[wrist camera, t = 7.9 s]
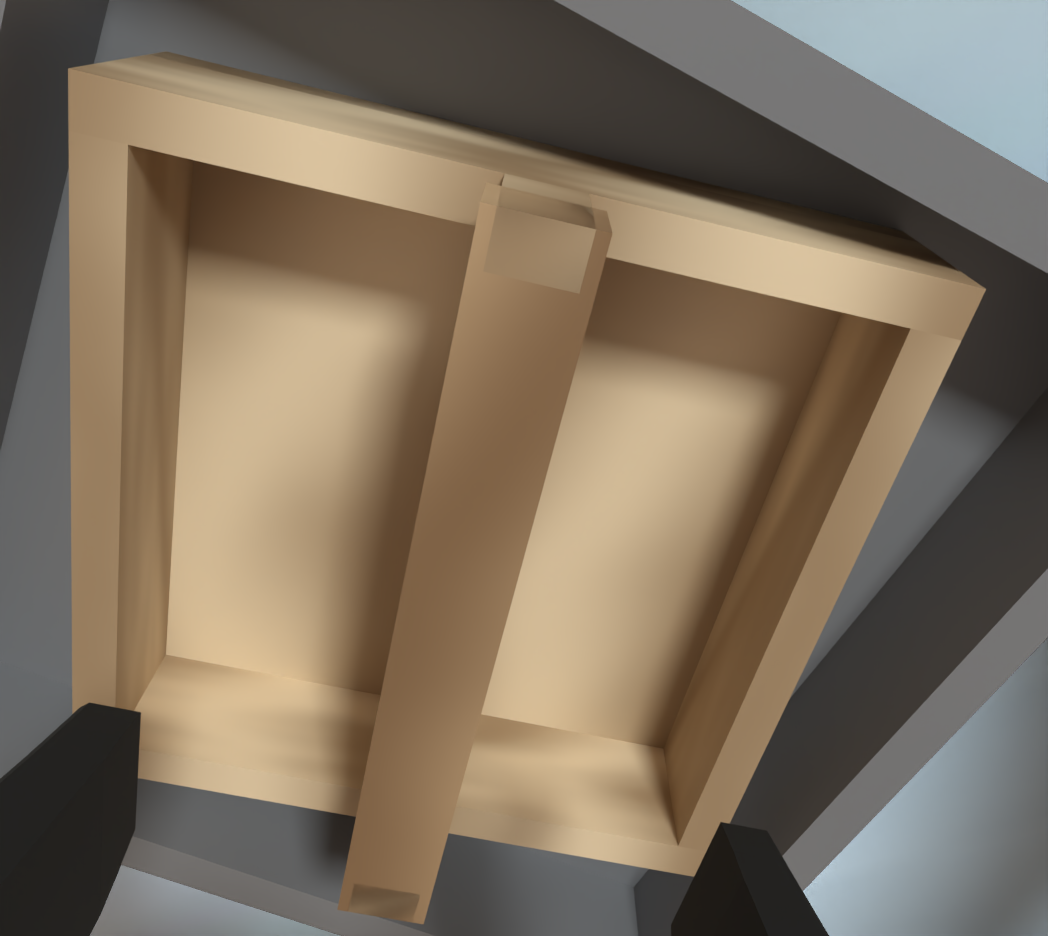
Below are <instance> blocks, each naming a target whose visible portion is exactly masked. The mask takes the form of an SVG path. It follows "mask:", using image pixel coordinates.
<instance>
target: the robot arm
mask: <svg viewBox="0 0 1048 936" xmlns="http://www.w3.org/2000/svg"><path fill="white" fill-rule="evenodd" d="M140 723H141V712H137V711H132V710H127V709H121V708H116V707H111V706H105V705H100V704H95V703H90V702H89V703H87V704H85V705H84V706H82V707H80V708H79V709H78V710H76V711H75V712H74V713H73V714H72V715H71V716H70V717H69V718H68V719H67V720H66V721H65V722H63V723H62V724H61V725H60V726H59V727H58V728H57V729H56V730H55V731H54V732H52V733H51V734H50V735H49V736H48V737H47V738H46V739H45V740H44V741H43V742H41V743H40V744H39V745H38V746H37V747H36V748H35V749H34V750H32V751H31V752H30V753H29V754H28V755H27V756H26V757H25V758H23V759H22V760H21V761H20V762H19V763H18V764H17V765H15V766H14V767H13V768H12V769H11V770H10V771H8V772H7V773H6V774H5V775H4V776H3V777H2V778H0V936H89V935H90V933H91V932H92V930H93V928H94V926H95V924H96V922H97V920H98V918H99V916H100V914H101V912H102V909H103V907H104V905H105V902H106V900H107V898H108V895H109V893H110V890H111V888H112V886H113V883H114V881H115V879H116V876H117V874H118V871H119V869H120V866H121V864H122V861H123V859H124V856H125V854H126V851H127V849H128V846H129V844H130V841H131V839H132V836H133V834H134V831H135V825H136V804H137V784H138V763H139V743H140ZM671 936H829V935H828V933H827V932H826V930H825V928H824V927H823V925H822V923H821V922H820V920H819V918H818V917H817V915H816V913H815V911H814V910H813V908H812V906H811V905H810V903H809V901H808V899H807V898H806V896H805V894H804V893H803V891H802V889H801V887H800V886H799V884H798V882H797V881H796V879H795V877H794V875H793V874H792V872H791V870H790V869H789V867H788V865H787V863H786V862H785V860H784V858H783V857H782V855H781V853H780V852H779V850H778V848H777V847H776V845H775V843H774V842H773V840H772V838H771V837H770V835H769V833H768V831H766V830H761V829H756V828H750V827H745V826H740V825H735V824H729V823H724V822H720V824H719V826H718V828H717V830H716V833H715V835H714V837H713V839H712V841H711V843H710V845H709V847H708V849H707V851H706V853H705V855H704V857H703V859H702V862H701V864H700V866H699V868H698V870H697V872H696V874H695V876H694V878H693V880H692V882H691V884H690V886H689V888H688V890H687V893H686V895H685V897H684V899H683V901H682V903H681V905H680V907H679V909H678V911H677V913H676V915H675V917H674V919H673V921H672V924H671Z"/></svg>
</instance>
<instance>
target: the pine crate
mask: <svg viewBox="0 0 1048 936" xmlns="http://www.w3.org/2000/svg"><path fill="white" fill-rule="evenodd" d="M68 123H69V272H70V421H71V571H72V714H73V713H74V712H75V711H76V710H78V709H79V708H80V707H82V706H84V705H85V704H87V703H89V702H90V703H95V704H100V705H105V706H111V707H116V708H121V709H127V710H132V711H137V712H141V723H140V743H139V763H138V778H140V779H146V780H152V781H157V782H163V783H169V784H174V785H180V786H186V787H191V788H197V789H202V790H208V791H214V792H219V793H225V794H231V795H236V796H242V797H248V798H253V799H259V800H264V801H270V802H276V803H281V804H287V805H293V806H298V807H304V808H309V809H315V810H321V811H326V812H332V813H338V814H343V815H349V816H355V817H356V820H355V825H354V829H353V834H352V839H351V844H350V849H349V854H348V859H347V864H346V869H345V874H344V879H343V884H342V889H341V894H340V899H339V904H338V909H337V910H341V911H347V912H353V913H359V914H365V915H371V916H376V917H382V918H388V919H394V920H400V921H406V922H412V923H418V924H424V921H425V917H426V914H427V910H428V906H429V903H430V899H431V895H432V892H433V888H434V884H435V881H436V877H437V873H438V870H439V866H440V862H441V859H442V855H443V851H444V848H445V844H446V840H447V837H448V833H450V834H456V835H462V836H467V837H473V838H479V839H484V840H490V841H495V842H501V843H507V844H512V845H518V846H524V847H529V848H535V849H540V850H546V851H552V852H557V853H563V854H569V855H574V856H580V857H586V858H591V859H597V860H602V861H608V862H614V863H619V864H625V865H631V866H636V867H642V868H648V869H653V870H659V871H664V872H670V873H676V874H681V875H687V876H693V877H694V876H695V874H696V872H697V870H698V868H699V866H700V864H701V862H702V859H703V857H704V855H705V853H706V851H707V849H708V847H709V845H710V843H711V841H712V839H713V837H714V835H715V833H716V830H717V828H718V826H719V824H720V822H724V823H729V824H730V822H731V820H732V818H733V816H734V813H735V811H736V809H737V807H738V805H739V803H740V801H741V799H742V797H743V795H744V793H745V791H746V788H747V786H748V784H749V782H750V780H751V778H752V776H753V774H754V772H755V770H756V768H757V766H758V763H759V761H760V759H761V757H762V755H763V753H764V751H765V749H766V747H767V745H768V743H769V741H770V738H771V736H772V734H773V732H774V730H775V728H776V726H777V724H778V722H779V720H780V718H781V716H782V714H783V711H784V709H785V707H786V705H787V703H788V701H789V699H790V697H791V695H792V693H793V691H794V689H795V686H796V684H797V682H798V680H799V678H800V676H801V674H802V672H803V670H804V668H805V666H806V664H807V661H808V659H809V657H810V655H811V653H812V651H813V649H814V647H815V645H816V643H817V641H818V639H819V636H820V634H821V632H822V630H823V628H824V626H825V624H826V622H827V620H828V618H829V616H830V614H831V611H832V609H833V607H834V605H835V603H836V601H837V599H838V597H839V595H840V593H841V591H842V589H843V586H844V584H845V582H846V580H847V578H848V576H849V574H850V572H851V570H852V568H853V566H854V564H855V562H856V559H857V557H858V555H859V553H860V551H861V549H862V547H863V545H864V543H865V541H866V539H867V537H868V534H869V532H870V530H871V528H872V526H873V524H874V522H875V520H876V518H877V516H878V514H879V512H880V509H881V507H882V505H883V503H884V501H885V499H886V497H887V495H888V493H889V491H890V489H891V487H892V484H893V482H894V480H895V478H896V476H897V474H898V472H899V470H900V468H901V466H902V464H903V462H904V459H905V457H906V455H907V453H908V451H909V449H910V447H911V445H912V443H913V441H914V439H915V437H916V434H917V432H918V430H919V428H920V426H921V424H922V422H923V420H924V418H925V416H926V414H927V412H928V409H929V407H930V405H931V403H932V401H933V399H934V397H935V395H936V393H937V391H938V389H939V387H940V385H941V382H942V380H943V378H944V376H945V374H946V372H947V370H948V368H949V366H950V364H951V362H952V360H953V357H954V355H955V353H956V351H957V349H958V347H959V345H960V343H961V341H962V339H963V337H964V335H965V332H966V330H967V328H968V326H969V324H970V322H971V320H972V318H973V316H974V314H975V312H976V310H977V307H978V305H979V303H980V301H981V299H982V297H983V295H984V293H985V291H986V289H985V288H984V287H982V286H981V285H980V284H978V283H977V282H975V281H974V280H972V279H971V278H969V277H968V276H967V275H965V274H964V273H962V272H961V271H959V270H958V269H956V268H955V267H954V266H952V265H951V264H949V263H948V262H946V261H945V260H943V259H942V258H941V257H939V256H938V255H936V254H935V253H933V252H932V251H931V250H929V249H928V248H926V247H925V246H923V245H922V244H920V243H919V242H918V241H916V240H915V239H913V238H912V237H910V236H909V235H907V234H906V233H905V232H903V231H900V230H896V229H891V228H887V227H883V226H879V225H875V224H871V223H867V222H863V221H859V220H855V219H850V218H846V217H842V216H838V215H834V214H830V213H826V212H822V211H818V210H814V209H810V208H805V207H801V206H797V205H793V204H789V203H785V202H781V201H777V200H773V199H769V198H764V197H760V196H756V195H752V194H748V193H744V192H740V191H736V190H732V189H728V188H724V187H719V186H715V185H711V184H707V183H703V182H699V181H695V180H691V179H687V178H683V177H679V176H674V175H670V174H666V173H662V172H658V171H654V170H650V169H646V168H642V167H638V166H633V165H629V164H625V163H621V162H617V161H613V160H609V159H605V158H601V157H597V156H593V155H588V154H584V153H580V152H576V151H572V150H568V149H564V148H560V147H556V146H552V145H548V144H543V143H539V142H535V141H531V140H527V139H523V138H519V137H515V136H511V135H507V134H502V133H498V132H494V131H490V130H486V129H482V128H478V127H474V126H470V125H466V124H462V123H457V122H453V121H449V120H445V119H441V118H437V117H433V116H429V115H425V114H421V113H416V112H412V111H408V110H404V109H400V108H396V107H392V106H388V105H384V104H380V103H376V102H371V101H367V100H363V99H359V98H355V97H351V96H347V95H343V94H339V93H335V92H331V91H326V90H322V89H318V88H314V87H310V86H306V85H302V84H298V83H294V82H290V81H285V80H281V79H277V78H273V77H269V76H265V75H261V74H257V73H253V72H249V71H245V70H240V69H236V68H232V67H228V66H224V65H220V64H216V63H212V62H208V61H204V60H199V59H195V58H191V57H187V56H183V55H179V54H175V53H171V52H167V51H166V52H160V53H154V54H148V55H142V56H137V57H131V58H125V59H119V60H114V61H108V62H102V63H96V64H90V65H85V66H79V67H73V68H68Z"/></svg>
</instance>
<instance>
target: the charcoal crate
mask: <svg viewBox="0 0 1048 936" xmlns="http://www.w3.org/2000/svg"><path fill="white" fill-rule="evenodd" d="M166 51H167V52H171V53H175V54H179V55H183V56H187V57H191V58H195V59H199V60H204V61H208V62H212V63H216V64H220V65H224V66H228V67H232V68H236V69H240V70H245V71H249V72H253V73H257V74H261V75H265V76H269V77H273V78H277V79H281V80H285V81H290V82H294V83H298V84H302V85H306V86H310V87H314V88H318V89H322V90H326V91H331V92H335V93H339V94H343V95H347V96H351V97H355V98H359V99H363V100H367V101H371V102H376V103H380V104H384V105H388V106H392V107H396V108H400V109H404V110H408V111H412V112H416V113H421V114H425V115H429V116H433V117H437V118H441V119H445V120H449V121H453V122H457V123H462V124H466V125H470V126H474V127H478V128H482V129H486V130H490V131H494V132H498V133H502V134H507V135H511V136H515V137H519V138H523V139H527V140H531V141H535V142H539V143H543V144H548V145H552V146H556V147H560V148H564V149H568V150H572V151H576V152H580V153H584V154H588V155H593V156H597V157H601V158H605V159H609V160H613V161H617V162H621V163H625V164H629V165H633V166H638V167H642V168H646V169H650V170H654V171H658V172H662V173H666V174H670V175H674V176H679V177H683V178H687V179H691V180H695V181H699V182H703V183H707V184H711V185H715V186H719V187H724V188H728V189H732V190H736V191H740V192H744V193H748V194H752V195H756V196H760V197H764V198H769V199H773V200H777V201H781V202H785V203H789V204H793V205H797V206H801V207H805V208H810V209H814V210H818V211H822V212H826V213H830V214H834V215H838V216H842V217H846V218H850V219H855V220H859V221H863V222H867V223H871V224H875V225H879V226H883V227H887V228H891V229H896V230H900V231H903V232H905V233H906V234H907V235H909V236H910V237H912V238H913V239H915V240H916V241H918V242H919V243H920V244H922V245H923V246H925V247H926V248H928V249H929V250H931V251H932V252H933V253H935V254H936V255H938V256H939V257H941V258H942V259H943V260H945V261H946V262H948V263H949V264H951V265H952V266H954V267H955V268H956V269H958V270H959V271H961V272H962V273H964V274H965V275H967V276H968V277H969V278H971V279H972V280H974V281H975V282H977V283H978V284H980V285H981V286H982V287H984V288H985V289H986V291H985V293H984V295H983V297H982V299H981V301H980V303H979V305H978V307H977V310H976V312H975V314H974V316H973V318H972V320H971V322H970V324H969V326H968V328H967V330H966V332H965V335H964V337H963V339H962V341H961V343H960V345H959V347H958V349H957V351H956V353H955V355H954V357H953V360H952V362H951V364H950V366H949V368H948V370H947V372H946V374H945V376H944V378H943V380H942V382H941V385H940V387H939V389H938V391H937V393H936V395H935V397H934V399H933V401H932V403H931V405H930V407H929V409H928V412H927V414H926V416H925V418H924V420H923V422H922V424H921V426H920V428H919V430H918V432H917V434H916V437H915V439H914V441H913V443H912V445H911V447H910V449H909V451H908V453H907V455H906V457H905V459H904V462H903V464H902V466H901V468H900V470H899V472H898V474H897V476H896V478H895V480H894V482H893V484H892V487H891V489H890V491H889V493H888V495H887V497H886V499H885V501H884V503H883V505H882V507H881V509H880V512H879V514H878V516H877V518H876V520H875V522H874V524H873V526H872V528H871V530H870V532H869V534H868V537H867V539H866V541H865V543H864V545H863V547H862V549H861V551H860V553H859V555H858V557H857V559H856V562H855V564H854V566H853V568H852V570H851V572H850V574H849V576H848V578H847V580H846V582H845V584H844V586H843V589H842V591H841V593H840V595H839V597H838V599H837V601H836V603H835V605H834V607H833V609H832V611H831V614H830V616H829V618H828V620H827V622H826V624H825V626H824V628H823V630H822V632H821V634H820V636H819V639H818V641H817V643H816V645H815V647H814V649H813V651H812V653H811V655H810V657H809V659H808V661H807V664H806V666H805V668H804V670H803V672H802V674H801V676H800V678H799V680H798V682H797V684H796V686H795V689H794V691H793V693H792V695H791V697H790V699H789V701H788V703H787V705H786V707H785V709H784V711H783V714H782V716H781V718H780V720H779V722H778V724H777V726H776V728H775V730H774V732H773V734H772V736H771V738H770V741H769V743H768V745H767V747H766V749H765V751H764V753H763V755H762V757H761V759H760V761H759V763H758V766H757V768H756V770H755V772H754V774H753V776H752V778H751V780H750V782H749V784H748V786H747V788H746V791H745V793H744V795H743V797H742V799H741V801H740V803H739V805H738V807H737V809H736V811H735V813H734V816H733V818H732V820H731V822H730V824H735V825H740V826H745V827H750V828H756V829H761V830H766V831H768V833H769V835H770V837H771V838H772V840H773V842H774V843H775V845H776V847H777V848H778V850H779V852H780V853H781V855H782V857H783V858H784V860H785V862H786V863H787V865H788V867H789V869H790V870H791V872H792V874H793V875H794V877H795V879H796V881H797V882H798V884H799V886H800V887H801V889H802V891H803V890H804V889H805V888H806V887H807V886H808V885H809V884H810V883H811V882H812V881H813V880H814V879H815V878H816V877H817V876H818V875H819V874H820V873H821V872H822V871H823V870H824V869H825V868H826V867H827V866H828V865H829V863H830V862H831V861H832V860H833V859H834V858H835V857H836V856H837V855H838V854H839V853H840V852H841V851H842V850H843V849H844V848H845V847H846V846H847V845H848V844H849V843H850V842H851V841H852V840H853V839H854V838H855V837H856V836H857V834H858V833H859V832H860V831H861V830H862V829H863V828H864V827H865V826H866V825H867V824H868V823H869V822H870V821H871V820H872V819H873V818H874V817H875V816H876V815H877V814H878V813H879V812H880V811H881V810H882V809H883V808H884V806H885V805H886V804H887V803H888V802H889V801H890V800H891V799H892V798H893V797H894V796H895V795H896V794H897V793H898V792H899V791H900V790H901V789H902V788H903V787H904V786H905V785H906V784H907V783H908V782H909V781H910V780H911V779H912V777H913V776H914V775H915V774H916V773H917V772H918V771H919V770H920V769H921V768H922V767H923V766H924V765H925V764H926V763H927V762H928V761H929V760H930V759H931V758H932V757H933V756H934V755H935V754H936V753H937V752H938V751H939V749H940V748H941V747H942V746H943V745H944V744H945V743H946V742H947V741H948V740H949V739H950V738H951V737H952V736H953V735H954V734H955V733H956V732H957V731H958V730H959V729H960V728H961V727H962V726H963V725H964V724H965V723H966V722H967V720H968V719H969V718H970V717H971V716H972V715H973V714H974V713H975V712H976V711H977V710H978V709H979V708H980V707H981V706H982V705H983V704H984V703H985V702H986V701H987V700H988V699H989V698H990V697H991V696H992V695H993V694H994V692H995V691H996V690H997V689H998V688H999V687H1000V686H1001V685H1002V684H1003V683H1004V682H1005V681H1006V680H1007V679H1008V678H1009V677H1010V676H1011V675H1012V674H1013V673H1014V672H1015V671H1016V670H1017V669H1018V668H1019V667H1020V666H1021V665H1022V663H1023V662H1024V661H1025V660H1026V659H1027V658H1028V657H1029V656H1030V655H1031V654H1032V653H1033V652H1034V651H1035V650H1036V649H1037V648H1038V647H1039V646H1040V645H1041V644H1042V643H1043V642H1044V641H1045V640H1046V639H1047V638H1048V183H1047V182H1045V181H1044V180H1042V179H1040V178H1038V177H1037V176H1035V175H1033V174H1031V173H1030V172H1028V171H1026V170H1024V169H1023V168H1021V167H1019V166H1017V165H1016V164H1014V163H1012V162H1011V161H1009V160H1007V159H1005V158H1004V157H1002V156H1000V155H998V154H997V153H995V152H993V151H991V150H990V149H988V148H986V147H985V146H983V145H981V144H979V143H978V142H976V141H974V140H972V139H971V138H969V137H967V136H965V135H964V134H962V133H960V132H958V131H957V130H955V129H953V128H952V127H950V126H948V125H946V124H945V123H943V122H941V121H939V120H938V119H936V118H934V117H932V116H931V115H929V114H927V113H926V112H924V111H922V110H920V109H919V108H917V107H915V106H913V105H912V104H910V103H908V102H906V101H905V100H903V99H901V98H899V97H898V96H896V95H894V94H893V93H891V92H889V91H887V90H886V89H884V88H882V87H880V86H879V85H877V84H875V83H873V82H872V81H870V80H868V79H867V78H865V77H863V76H861V75H860V74H858V73H856V72H854V71H853V70H851V69H849V68H847V67H846V66H844V65H842V64H840V63H839V62H837V61H835V60H834V59H832V58H830V57H828V56H827V55H825V54H823V53H821V52H820V51H818V50H816V49H814V48H813V47H811V46H809V45H808V44H806V43H804V42H802V41H801V40H799V39H797V38H795V37H794V36H792V35H790V34H788V33H787V32H785V31H783V30H781V29H780V28H778V27H776V26H775V25H773V24H771V23H769V22H768V21H766V20H764V19H762V18H761V17H759V16H757V15H755V14H754V13H752V12H750V11H749V10H747V9H745V8H743V7H742V6H740V5H738V4H736V3H735V2H733V1H731V0H0V778H2V777H3V776H4V775H5V774H6V773H7V772H8V771H10V770H11V769H12V768H13V767H14V766H15V765H17V764H18V763H19V762H20V761H21V760H22V759H23V758H25V757H26V756H27V755H28V754H29V753H30V752H31V751H32V750H34V749H35V748H36V747H37V746H38V745H39V744H40V743H41V742H43V741H44V740H45V739H46V738H47V737H48V736H49V735H50V734H51V733H52V732H54V731H55V730H56V729H57V728H58V727H59V726H60V725H61V724H62V723H63V722H65V721H66V720H67V719H68V718H69V717H70V716H71V715H72V571H71V421H70V272H69V123H68V68H73V67H79V66H85V65H90V64H96V63H102V62H108V61H114V60H119V59H125V58H131V57H137V56H142V55H148V54H154V53H160V52H166ZM355 820H356V817H355V816H349V815H343V814H338V813H332V812H326V811H321V810H315V809H309V808H304V807H298V806H293V805H287V804H281V803H276V802H270V801H264V800H259V799H253V798H248V797H242V796H236V795H231V794H225V793H219V792H214V791H208V790H202V789H197V788H191V787H186V786H180V785H174V784H169V783H163V782H157V781H152V780H146V779H140V778H138V784H137V804H136V825H135V831H134V834H133V836H132V839H131V841H130V844H129V846H128V849H127V851H126V854H125V856H124V859H123V861H122V864H121V865H124V866H127V867H130V868H133V869H136V870H139V871H142V872H146V873H149V874H152V875H155V876H158V877H161V878H164V879H167V880H170V881H173V882H177V883H180V884H183V885H186V886H189V887H192V888H195V889H198V890H201V891H204V892H207V893H211V894H214V895H217V896H220V897H223V898H226V899H229V900H232V901H235V902H238V903H242V904H245V905H248V906H251V907H254V908H257V909H260V910H263V911H266V912H269V913H272V914H276V915H279V916H282V917H285V918H288V919H291V920H294V921H297V922H300V923H303V924H307V925H310V926H313V927H316V928H319V929H322V930H325V931H328V932H331V933H334V934H337V935H341V936H671V924H672V921H673V919H674V917H675V915H676V913H677V911H678V909H679V907H680V905H681V903H682V901H683V899H684V897H685V895H686V893H687V890H688V888H689V886H690V884H691V882H692V880H693V878H694V877H693V876H687V875H681V874H676V873H670V872H664V871H659V870H653V869H648V868H642V867H636V866H631V865H625V864H619V863H614V862H608V861H602V860H597V859H591V858H586V857H580V856H574V855H569V854H563V853H557V852H552V851H546V850H540V849H535V848H529V847H524V846H518V845H512V844H507V843H501V842H495V841H490V840H484V839H479V838H473V837H467V836H462V835H456V834H450V833H448V837H447V840H446V844H445V848H444V851H443V855H442V859H441V862H440V866H439V870H438V873H437V877H436V881H435V884H434V888H433V892H432V895H431V899H430V903H429V906H428V910H427V914H426V917H425V921H424V924H418V923H412V922H406V921H400V920H394V919H388V918H382V917H376V916H371V915H365V914H359V913H353V912H347V911H341V910H337V909H338V904H339V899H340V894H341V889H342V884H343V879H344V874H345V869H346V864H347V859H348V854H349V849H350V844H351V839H352V834H353V829H354V825H355Z"/></svg>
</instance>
